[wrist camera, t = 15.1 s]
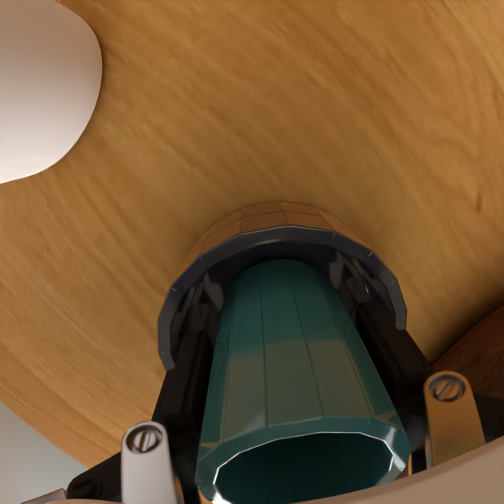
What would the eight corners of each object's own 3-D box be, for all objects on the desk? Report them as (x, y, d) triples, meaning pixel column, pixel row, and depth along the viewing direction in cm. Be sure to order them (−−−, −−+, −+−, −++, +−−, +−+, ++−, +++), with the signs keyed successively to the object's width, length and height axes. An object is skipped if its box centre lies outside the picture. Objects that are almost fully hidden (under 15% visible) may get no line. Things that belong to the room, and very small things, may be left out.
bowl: (208, 378, 17) (198, 440, 12) (159, 221, 14) (122, 256, 9) (369, 350, 16) (397, 407, 12) (361, 184, 13) (406, 204, 9)
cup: (235, 367, 14) (225, 525, 7) (208, 270, 13) (159, 432, 5) (342, 349, 14) (395, 497, 6) (334, 248, 12) (429, 388, 5)
